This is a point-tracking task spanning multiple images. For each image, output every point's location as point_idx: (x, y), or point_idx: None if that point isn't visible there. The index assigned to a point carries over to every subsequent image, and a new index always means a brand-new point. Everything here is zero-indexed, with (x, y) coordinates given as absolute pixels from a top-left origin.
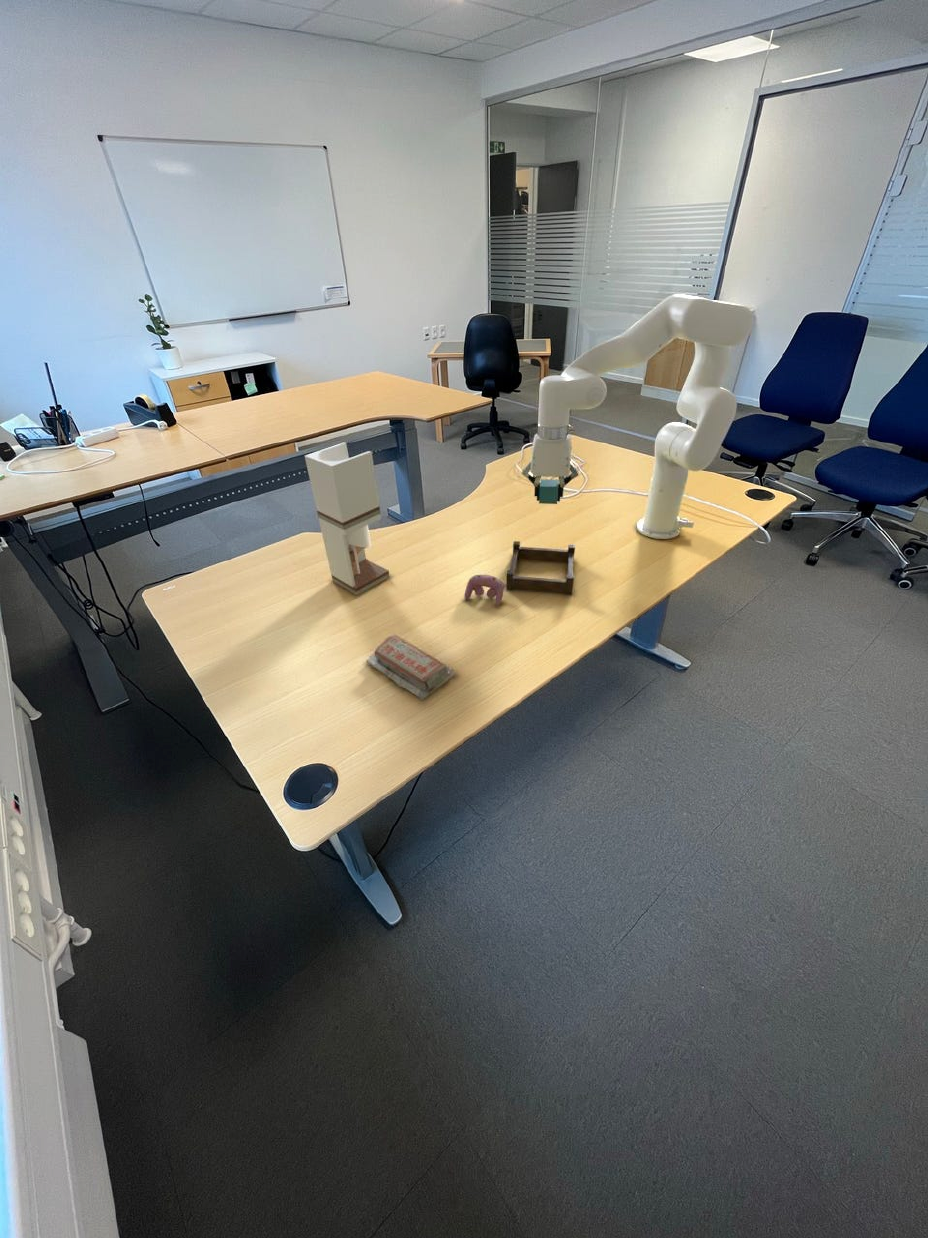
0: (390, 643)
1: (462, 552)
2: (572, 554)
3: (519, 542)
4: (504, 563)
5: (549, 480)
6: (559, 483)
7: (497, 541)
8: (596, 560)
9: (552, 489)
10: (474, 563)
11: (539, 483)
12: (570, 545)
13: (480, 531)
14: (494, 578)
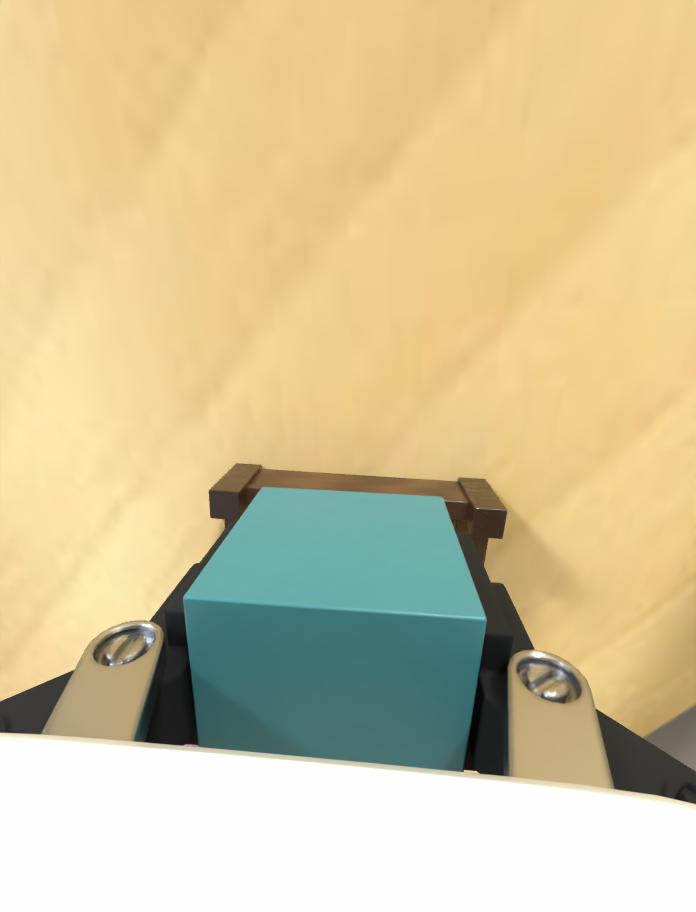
0: None
1: (26, 446)
2: (484, 538)
3: (236, 502)
4: (209, 515)
5: (327, 646)
6: (482, 743)
7: (143, 338)
8: (585, 471)
9: None
10: (99, 521)
11: (186, 729)
12: (483, 515)
13: (36, 239)
14: (185, 745)
